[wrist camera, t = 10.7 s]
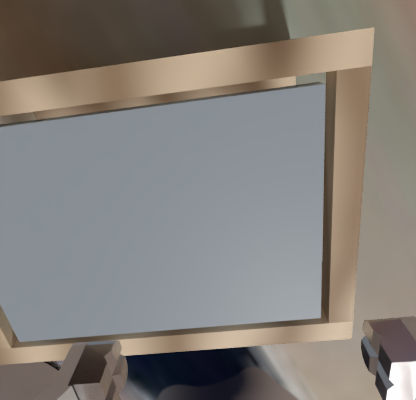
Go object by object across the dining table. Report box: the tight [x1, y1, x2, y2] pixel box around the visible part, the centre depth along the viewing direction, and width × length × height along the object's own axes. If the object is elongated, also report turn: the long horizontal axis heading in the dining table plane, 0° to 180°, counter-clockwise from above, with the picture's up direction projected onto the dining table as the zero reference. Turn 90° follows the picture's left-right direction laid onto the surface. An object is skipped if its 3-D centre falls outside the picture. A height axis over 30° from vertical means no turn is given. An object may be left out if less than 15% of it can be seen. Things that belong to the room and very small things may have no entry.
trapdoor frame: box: [0, 27, 375, 365], centre depth 26 cm, size 24×18×16 cm
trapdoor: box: [0, 82, 325, 342], centre depth 20 cm, size 20×14×3 cm
